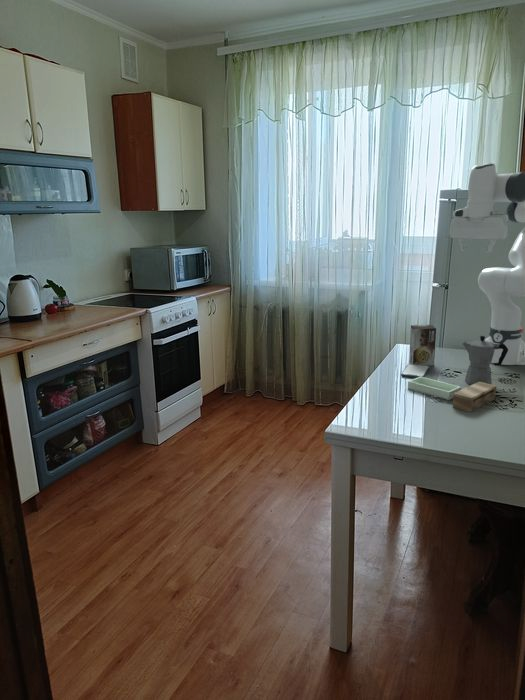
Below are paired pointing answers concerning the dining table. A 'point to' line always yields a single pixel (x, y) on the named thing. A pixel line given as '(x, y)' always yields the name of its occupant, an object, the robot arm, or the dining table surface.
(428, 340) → the coffee box
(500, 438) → the dining table surface
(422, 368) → the smartphone
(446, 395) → the tray
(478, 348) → the coffeepot
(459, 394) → the walnut shelf
